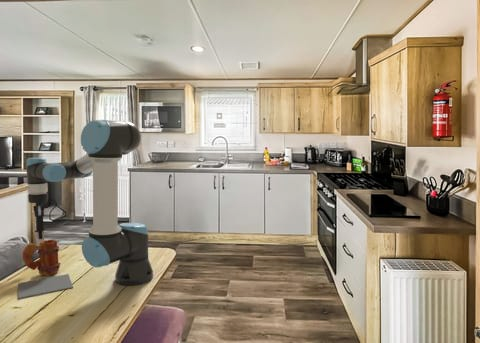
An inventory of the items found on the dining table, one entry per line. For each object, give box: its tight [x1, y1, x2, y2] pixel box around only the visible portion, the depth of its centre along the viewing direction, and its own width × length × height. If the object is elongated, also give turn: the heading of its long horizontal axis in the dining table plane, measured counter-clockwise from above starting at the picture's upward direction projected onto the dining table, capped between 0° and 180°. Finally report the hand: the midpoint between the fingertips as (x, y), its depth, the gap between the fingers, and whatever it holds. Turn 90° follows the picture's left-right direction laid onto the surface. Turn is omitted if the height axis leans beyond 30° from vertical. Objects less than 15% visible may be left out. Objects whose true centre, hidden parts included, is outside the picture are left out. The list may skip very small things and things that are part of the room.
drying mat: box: [17, 273, 74, 300], centre depth 138 cm, size 15×18×1 cm
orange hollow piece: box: [22, 239, 61, 277], centre depth 148 cm, size 15×8×15 cm, turn 144°
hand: (40, 245), depth 156 cm, fingers closed
